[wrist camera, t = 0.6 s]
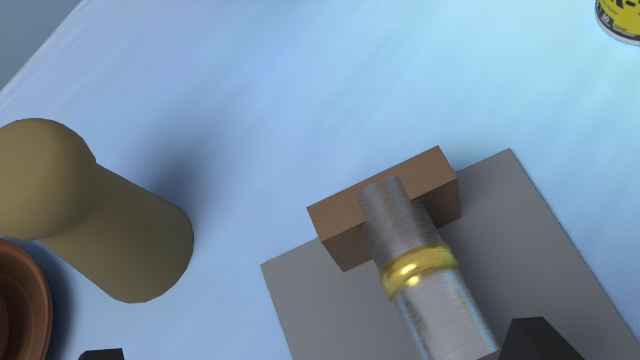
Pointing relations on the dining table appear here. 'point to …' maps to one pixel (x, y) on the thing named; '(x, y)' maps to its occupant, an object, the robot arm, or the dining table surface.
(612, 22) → the supplement bottle
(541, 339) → the robot arm
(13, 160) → the cork
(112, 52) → the dining table surface
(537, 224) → the mat
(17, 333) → the cup and saucer
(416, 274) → the rod holder
